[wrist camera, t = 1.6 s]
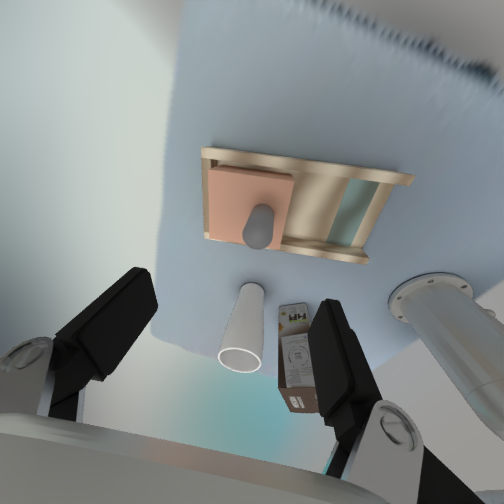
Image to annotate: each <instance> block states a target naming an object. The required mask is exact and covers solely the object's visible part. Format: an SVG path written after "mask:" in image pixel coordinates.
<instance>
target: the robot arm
mask: <svg viewBox="0 0 504 504" xmlns="http://www.w3.org/2000/svg"><path fill="white" fill-rule="evenodd" d="M472 298H473V289H472V287H471V285H470V284H469V283H467V282H466V281H465V280H464V279H462V278H460V277H458V276H456V275H453V274H446V273H435V274H428V275H423V276H419V277H417V278H414V279H411V280H409V281H407V282H406V283H404V284H402V285H401V286H400V287H398V288H397V289H396V290H395V291H394V292H393V294H392V295H391V297H390V299H389V303H388V305H389V309H390V311H391V313H392V314H393V316H394V317H395V318H396V319H398V320H400V321H401V322H404V323H407V324H410V325H411V326H412V327H413V329H414V330H415V332H416V333H417V334H418V336H419V337H420V338H421V340H422V341H423V343H424V344H425V345H426V347H427V348H428V349H429V351H430V352H431V354H432V355H433V356H434V358H435V359H436V360H437V362H438V363H439V364H440V366H441V367H442V369H443V370H444V371H445V373H446V374H447V376H448V377H449V378H450V380H451V381H452V382H453V384H454V385H455V386H456V388H457V389H458V391H459V392H460V393H461V395H462V396H463V397H464V399H465V400H466V401H467V403H468V404H469V406H470V407H471V408H472V410H473V411H474V412H475V414H476V415H477V416H478V418H479V419H480V420H481V421H482V422H483V423H484V424H485V425H486V426H487V427H488V428H489V429H490V430H491V431H492V432H493V433H494V434H495V435H497V436H499V438H501V439H502V440H503V441H504V325H503V324H502V323H501V322H499V321H498V320H497V319H495V316H496V315H495V312H493V311H492V310H487V309H483V308H482V307H481V306H479V305H478V304H477V303H476V302H475V301H473V300H472ZM157 309H158V303H157V299H156V295H155V291H154V287H153V283H152V279H151V275H150V273H149V272H148V271H147V269H145V268H139V267H133V268H132V269H130V270H129V271H128V272H127V273H126V274H125V275H124V276H122V277H121V278H120V279H119V280H118V281H116V282H115V283H114V284H113V285H112V286H111V287H110V288H108V289H107V290H106V291H105V292H104V293H103V294H101V295H100V296H99V297H98V298H97V299H96V300H94V301H93V302H92V303H91V304H90V305H89V306H87V307H86V308H85V309H84V310H83V311H82V312H81V313H79V314H78V315H77V316H76V317H75V318H74V319H72V320H71V321H70V322H69V323H68V324H67V325H66V326H64V327H63V328H62V329H61V330H60V331H59V332H58V333H56V334H55V335H56V337H55V338H54V339H53V340H52V339H51V338H49V337H37V338H32V339H30V340H27V341H25V342H22V343H20V344H19V345H17V346H15V347H13V348H12V349H11V350H9V351H8V352H6V353H5V354H4V355H3V356H2V357H1V358H0V504H504V490H485V491H477V492H473V491H472V490H470V489H469V488H468V487H467V486H466V485H465V484H464V483H463V482H462V481H461V480H460V479H459V478H458V477H457V476H456V475H455V474H454V473H453V472H451V470H449V469H448V468H447V467H446V466H445V465H444V464H443V463H442V462H441V461H440V460H439V459H438V458H437V457H436V456H435V455H433V453H432V452H430V451H429V450H428V449H427V448H426V447H425V446H424V445H423V440H422V437H421V434H420V432H419V430H418V428H417V426H416V424H415V423H414V422H413V420H412V419H411V418H410V416H409V415H408V414H407V413H406V412H405V411H403V409H402V408H400V407H398V406H397V405H396V404H394V403H392V402H390V401H387V400H383V399H382V397H381V394H380V392H379V389H378V387H377V384H376V382H375V380H374V377H373V375H372V372H371V370H370V367H369V365H368V362H367V360H366V358H365V355H364V353H363V350H362V348H361V346H360V343H359V341H358V338H357V336H356V334H355V332H354V331H353V330H352V329H350V326H349V324H348V321H347V319H346V316H345V314H344V311H343V309H342V306H341V304H340V302H339V301H338V300H333V299H326V300H325V301H322V302H321V304H320V306H319V308H318V311H317V313H316V315H315V317H314V319H313V322H312V324H311V326H310V328H309V330H308V334H307V338H308V344H309V351H310V357H311V363H312V370H313V376H314V382H315V389H316V395H317V401H318V408H319V413H320V415H321V417H324V422H325V425H326V426H331V427H334V430H335V435H336V440H337V441H336V443H335V446H334V448H333V451H332V452H331V455H330V457H329V459H328V461H327V463H326V466H325V468H324V470H323V473H322V474H319V473H315V472H311V471H307V470H302V469H298V468H294V467H290V466H286V465H280V464H276V463H272V462H267V461H262V460H258V459H253V458H248V457H243V456H239V455H234V454H229V453H224V452H220V451H215V450H210V449H205V448H200V447H196V446H191V445H186V444H181V443H177V442H172V441H167V440H162V439H157V438H152V437H148V436H143V435H138V434H133V433H128V432H123V431H118V430H113V429H108V428H103V427H99V426H94V425H89V424H84V423H82V422H83V410H84V397H85V387H86V385H87V383H88V382H89V381H90V380H91V379H92V380H97V381H101V382H103V381H104V379H105V378H106V377H107V375H110V374H111V373H112V372H113V371H114V370H115V369H116V367H117V366H118V364H119V363H120V362H121V360H122V359H123V357H124V356H125V355H126V353H127V352H128V350H129V349H130V347H131V346H132V345H133V343H134V342H135V341H136V339H137V338H138V336H139V335H140V334H141V332H142V331H143V329H144V328H145V327H146V325H147V324H148V322H149V321H150V320H151V318H152V317H153V315H154V314H155V313H156V311H157Z"/></svg>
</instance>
